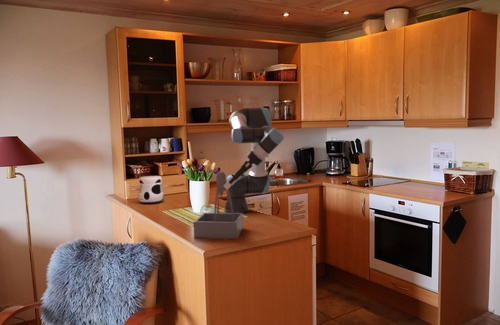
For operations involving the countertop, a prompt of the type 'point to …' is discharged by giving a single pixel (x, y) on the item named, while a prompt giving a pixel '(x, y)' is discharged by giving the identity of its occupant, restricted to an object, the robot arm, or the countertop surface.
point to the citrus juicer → (221, 193)
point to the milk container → (151, 189)
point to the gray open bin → (218, 226)
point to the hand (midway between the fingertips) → (227, 185)
